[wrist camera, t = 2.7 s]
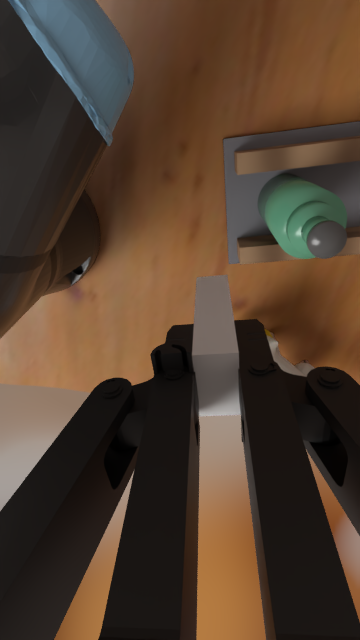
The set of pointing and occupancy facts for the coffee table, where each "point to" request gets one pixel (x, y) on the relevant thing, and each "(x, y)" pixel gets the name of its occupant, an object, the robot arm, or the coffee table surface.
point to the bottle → (303, 217)
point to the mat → (243, 190)
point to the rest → (290, 158)
